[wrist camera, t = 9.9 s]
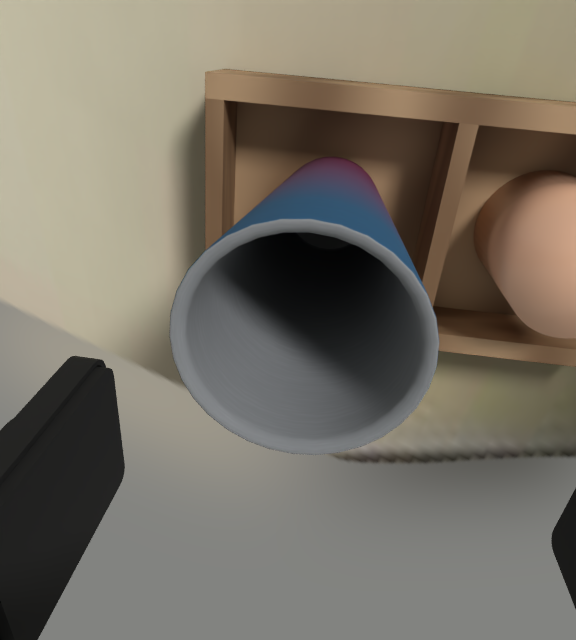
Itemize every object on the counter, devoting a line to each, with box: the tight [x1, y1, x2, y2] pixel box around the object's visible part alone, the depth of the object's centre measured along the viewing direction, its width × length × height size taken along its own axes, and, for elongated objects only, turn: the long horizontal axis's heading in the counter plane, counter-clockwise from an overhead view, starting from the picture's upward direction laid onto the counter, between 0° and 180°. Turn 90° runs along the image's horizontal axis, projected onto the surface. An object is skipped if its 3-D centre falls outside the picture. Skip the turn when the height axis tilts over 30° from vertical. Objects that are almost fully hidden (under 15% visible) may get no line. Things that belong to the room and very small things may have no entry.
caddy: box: [205, 69, 576, 367], centre depth 25 cm, size 22×12×4 cm, turn 85°
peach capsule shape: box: [474, 170, 576, 339], centre depth 23 cm, size 6×6×6 cm
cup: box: [170, 157, 439, 455], centre depth 19 cm, size 7×7×15 cm
